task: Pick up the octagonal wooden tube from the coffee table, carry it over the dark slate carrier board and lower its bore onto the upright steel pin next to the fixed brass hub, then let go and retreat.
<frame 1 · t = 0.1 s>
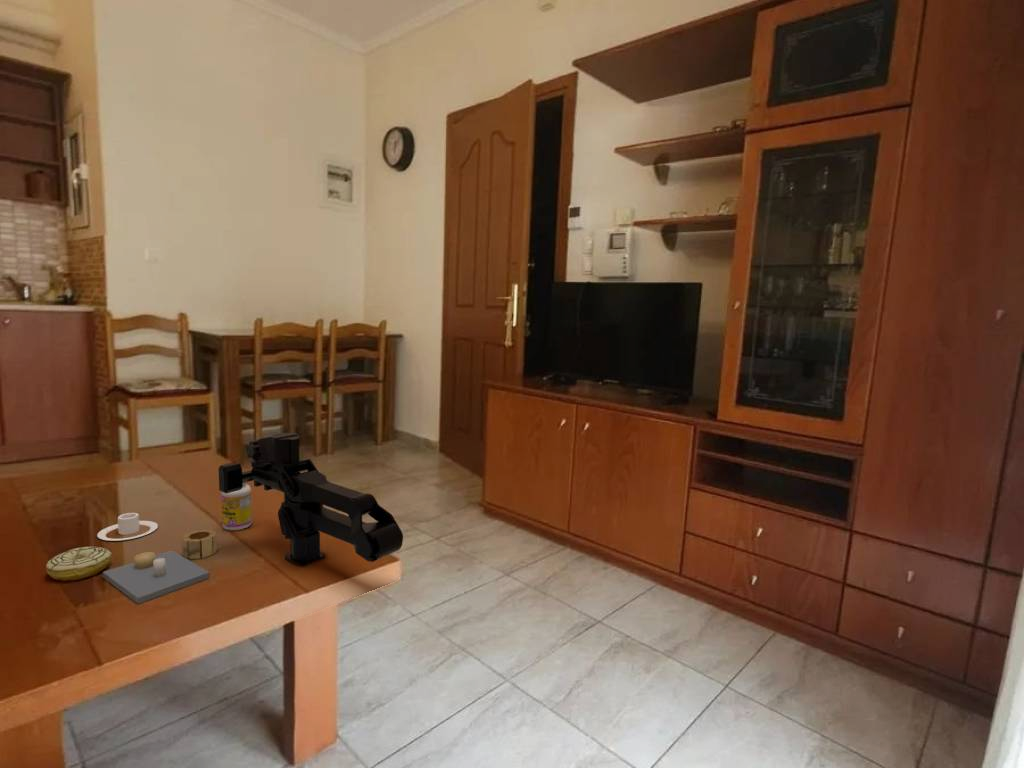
hand: (241, 464, 135), 17 cm above the table, tool horizontal, fingers open, 9 cm apart
decorated donut: (80, 571, 114), on the table
octagonal wooden tube: (200, 552, 124), on the table
candle holder: (128, 533, 133), on the table
carrier board: (156, 577, 112), on the table
supplement bottle: (237, 526, 139), on the table
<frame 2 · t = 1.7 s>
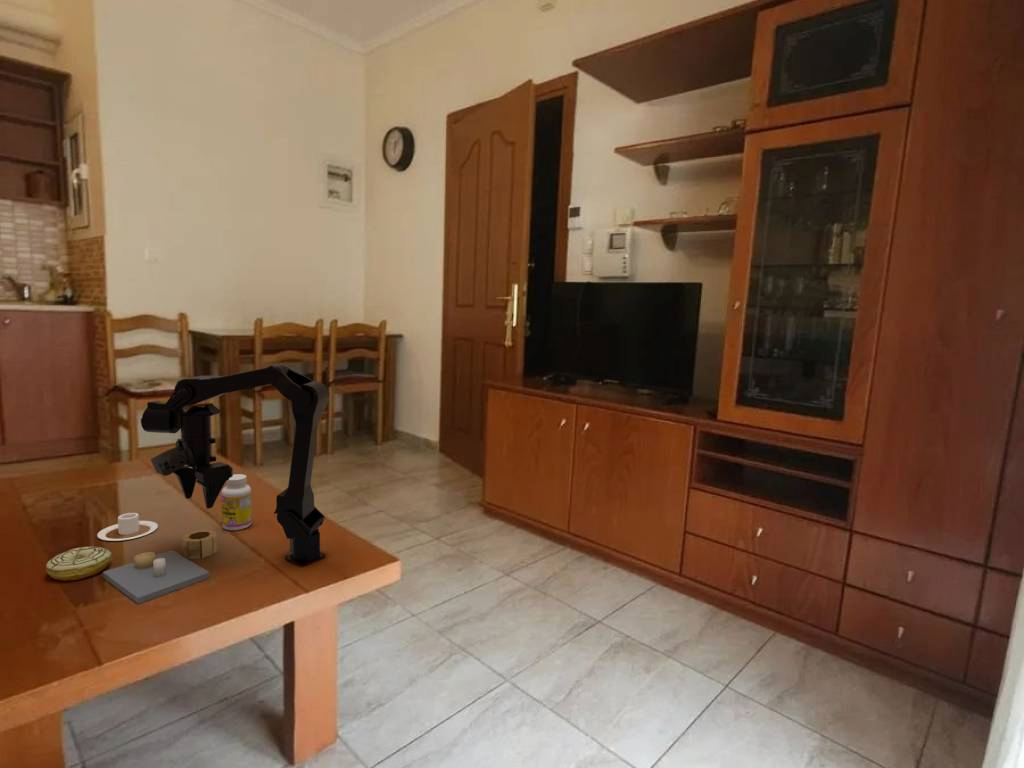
hand: (198, 503, 122), 11 cm above the table, tool pointing down, fingers open, 9 cm apart
nothing on the table moved.
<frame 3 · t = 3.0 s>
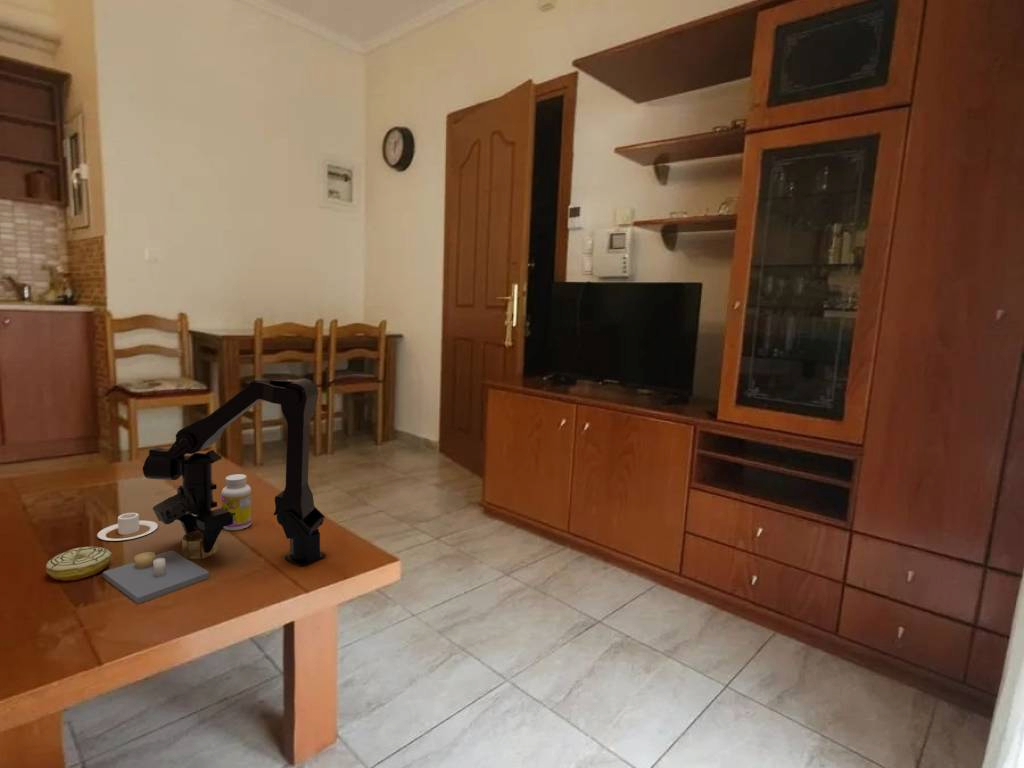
hand: (200, 548, 124), 1 cm above the table, tool pointing down, fingers closed on octagonal wooden tube, 6 cm apart
octagonal wooden tube: (200, 552, 124), on the table, touching gripper
everything else where it was.
when the fingers open (4 cm above the table, at t = 7.0 s): octagonal wooden tube drops 2 cm, resting on carrier board.
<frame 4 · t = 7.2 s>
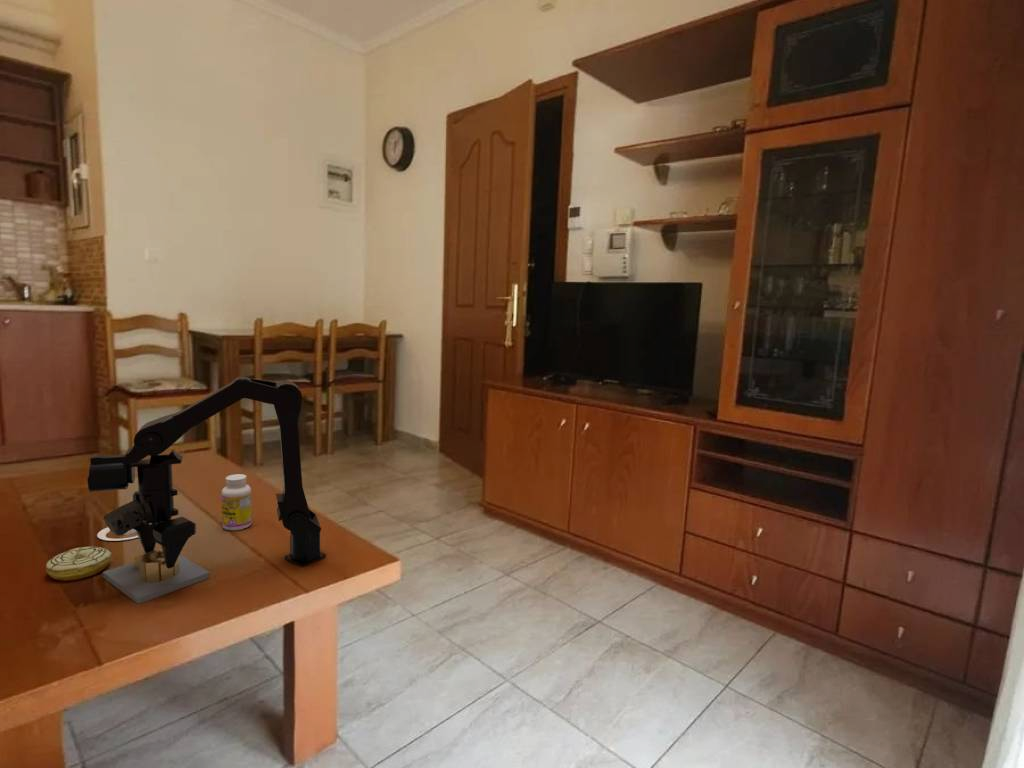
hand: (159, 561, 111), 4 cm above the table, tool pointing down, fingers open, 9 cm apart
octagonal wooden tube: (160, 574, 111), point 1 cm above the table, touching carrier board
everything else where it was.
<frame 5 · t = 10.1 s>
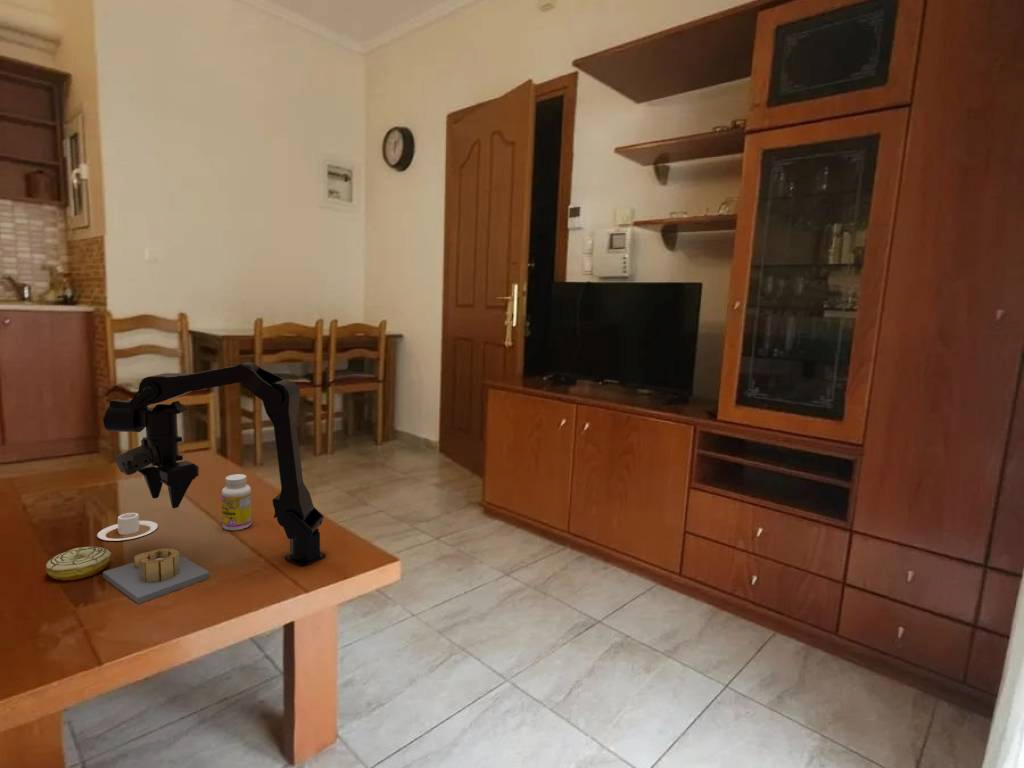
hand: (165, 502, 120), 12 cm above the table, tool pointing down, fingers open, 9 cm apart
nothing on the table moved.
at the end: octagonal wooden tube 0.0 cm from the target spot, point 1.2 cm above the table; the gripper is holding nothing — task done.
